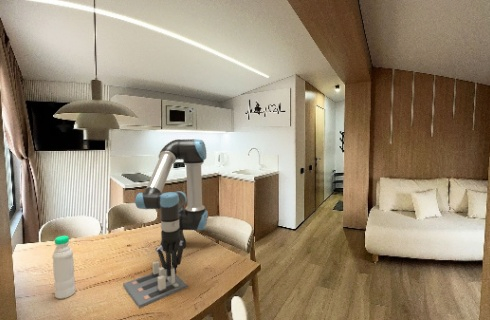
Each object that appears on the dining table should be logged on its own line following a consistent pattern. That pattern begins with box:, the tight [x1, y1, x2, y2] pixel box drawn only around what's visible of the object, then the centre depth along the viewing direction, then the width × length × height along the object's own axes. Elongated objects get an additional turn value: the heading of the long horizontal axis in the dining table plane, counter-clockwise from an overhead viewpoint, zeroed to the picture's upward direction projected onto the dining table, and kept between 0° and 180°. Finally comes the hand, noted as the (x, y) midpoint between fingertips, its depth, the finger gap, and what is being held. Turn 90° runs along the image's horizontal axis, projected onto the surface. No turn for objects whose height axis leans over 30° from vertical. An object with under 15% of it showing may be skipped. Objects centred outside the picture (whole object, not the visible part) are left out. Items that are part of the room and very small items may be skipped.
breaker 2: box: [159, 266, 167, 281], centre depth 116 cm, size 2×3×6 cm
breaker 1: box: [151, 260, 161, 277], centre depth 122 cm, size 2×3×6 cm
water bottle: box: [51, 235, 76, 300], centre depth 108 cm, size 7×7×25 cm
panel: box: [122, 269, 189, 309], centre depth 114 cm, size 20×21×1 cm
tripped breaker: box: [157, 275, 166, 293], centre depth 109 cm, size 2×3×6 cm
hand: (171, 281), depth 112 cm, fingers closed
